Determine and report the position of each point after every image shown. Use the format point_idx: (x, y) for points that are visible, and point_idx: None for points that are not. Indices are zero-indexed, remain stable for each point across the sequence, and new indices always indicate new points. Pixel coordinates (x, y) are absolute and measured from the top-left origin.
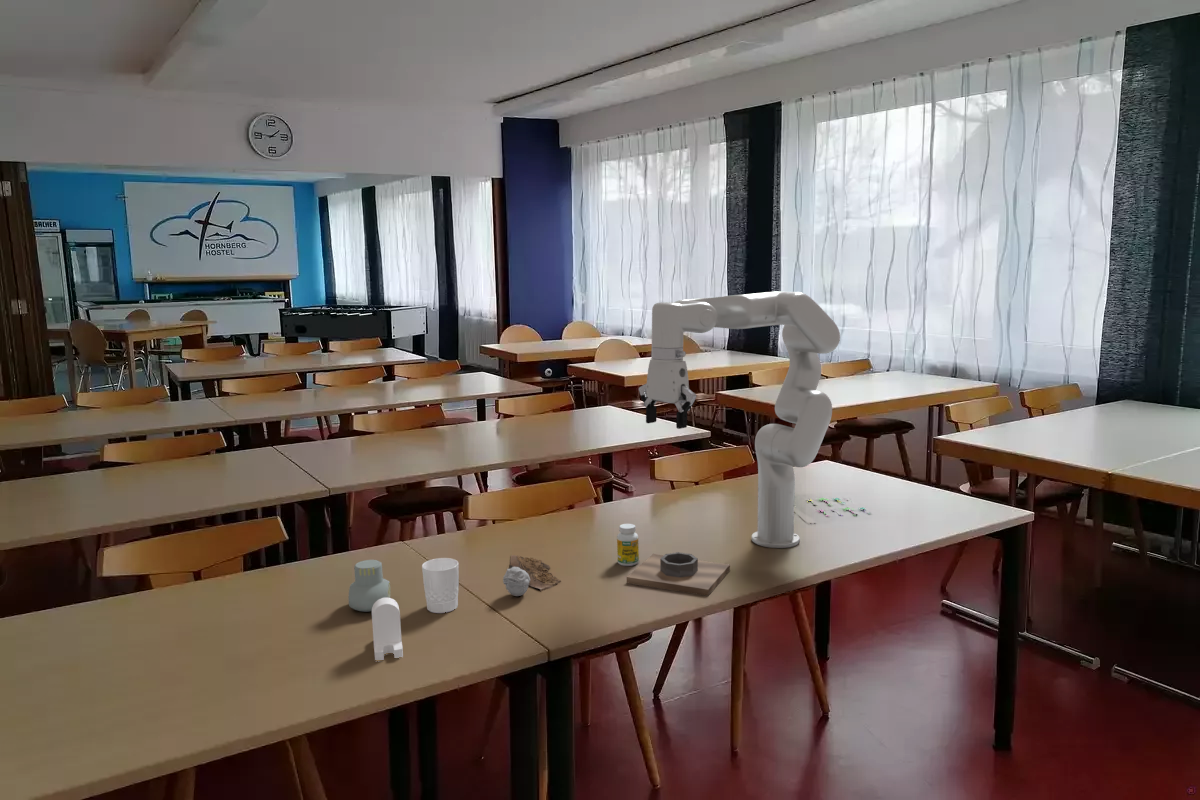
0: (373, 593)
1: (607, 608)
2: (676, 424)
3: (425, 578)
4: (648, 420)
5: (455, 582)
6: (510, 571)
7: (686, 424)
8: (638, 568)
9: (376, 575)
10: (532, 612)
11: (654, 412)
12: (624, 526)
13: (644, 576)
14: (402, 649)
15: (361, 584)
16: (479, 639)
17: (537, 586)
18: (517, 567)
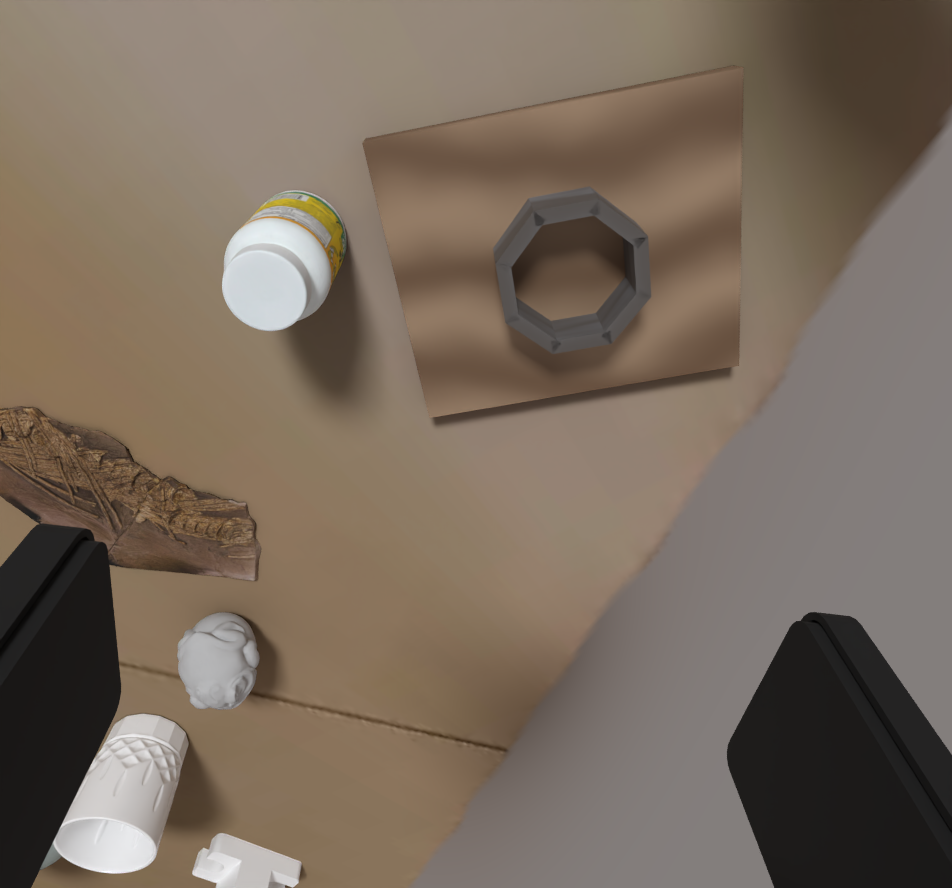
0: (54, 858)
1: (495, 569)
2: (745, 804)
3: (118, 845)
4: (103, 738)
5: (166, 797)
6: (213, 707)
7: (866, 649)
8: (416, 330)
9: None
10: (347, 666)
11: (12, 747)
12: (256, 303)
13: (482, 383)
14: (297, 876)
15: None
16: (357, 781)
17: (228, 568)
18: (211, 692)
